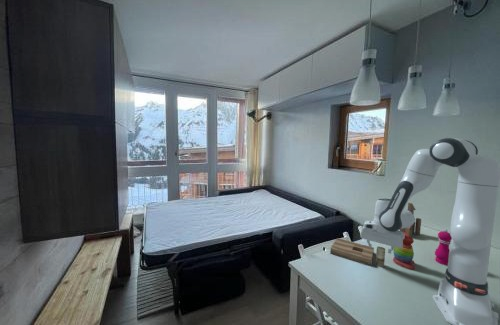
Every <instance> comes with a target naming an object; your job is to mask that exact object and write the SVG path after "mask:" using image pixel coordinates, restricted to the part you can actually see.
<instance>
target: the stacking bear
mask: <svg viewBox="0 0 500 325" xmlns="http://www.w3.org/2000/svg"><path fill="white" fill-rule="evenodd" d="M403 233H404V234H405V238H404V239H403V248H401V249H400V248H396V247H394V250H392V252H393V259H392V261H393V263H395V264H396V265H398V266H400V267H402V268H405V269H408V270H415V266H414V265H415V261H414V260H413V259H414V256H415V253H414V249H413V243H414V242H415V240H414V239H413V238H412V236H411V237H410V235H409V234H406V233H405V232H403Z"/></svg>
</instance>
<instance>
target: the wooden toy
mask: <svg viewBox="0 0 500 325" xmlns="http://www.w3.org/2000/svg"><path fill="white" fill-rule="evenodd" d="M407 210H409V211H410V212H411V213H412V214H413V215H415V214H414V212H415V211H416V208H415V206H414V204H413V203H412V202H407ZM421 227H422V218H419V217H416V218H415V222H414V224H413V225H412V226H410V227H406V228H403V229H400V230H399V231H402V232H405V233H406V234H409V235H410V237H411V238H412V235H416V236H421Z"/></svg>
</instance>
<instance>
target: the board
mask: <svg viewBox="0 0 500 325" xmlns="http://www.w3.org/2000/svg"><path fill="white" fill-rule="evenodd" d="M368 246H369V245H365V244H361V243H358V242H354V241H350V240H347V239H343V238H338V237H337V238H336V239H335V240H334V242H333V243H332V244H331V247H330V250H329V252H330V253H329V254H330V255H334V254H335V256H337V255H338V257H340V256H342V257H341V258H345V259H347V260H350V261H354V262H357V263H360V264H363V265H367V266H370V267H371V266H372V262H373V257H374V251H375V250H374V249H375V247H373V246H372V247H371V248H369V247H368Z"/></svg>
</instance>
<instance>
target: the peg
mask: <svg viewBox="0 0 500 325" xmlns="http://www.w3.org/2000/svg"><path fill="white" fill-rule="evenodd" d="M385 256H386V248H384V247H383V246H376V255H375V265H376V267H379V268H384V267H385V259H386V258H385Z"/></svg>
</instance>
